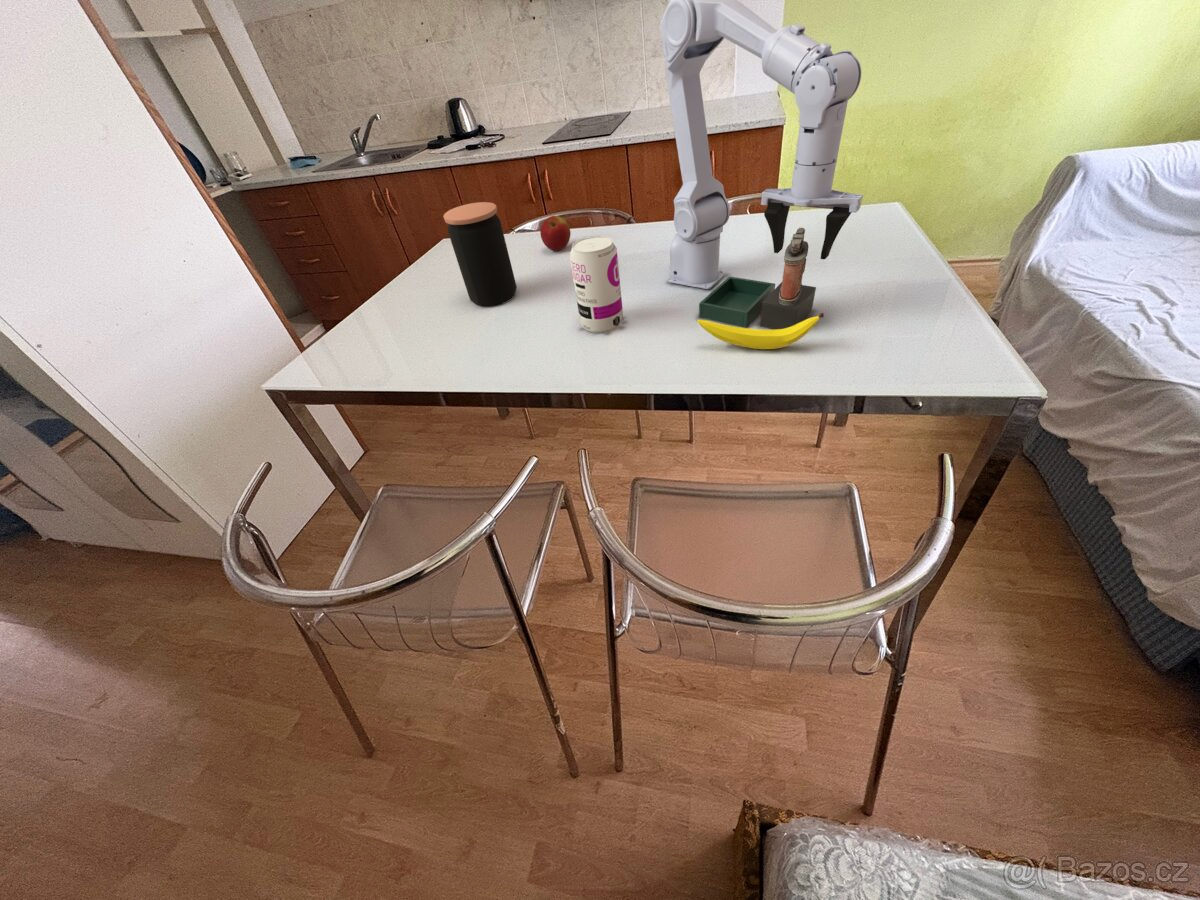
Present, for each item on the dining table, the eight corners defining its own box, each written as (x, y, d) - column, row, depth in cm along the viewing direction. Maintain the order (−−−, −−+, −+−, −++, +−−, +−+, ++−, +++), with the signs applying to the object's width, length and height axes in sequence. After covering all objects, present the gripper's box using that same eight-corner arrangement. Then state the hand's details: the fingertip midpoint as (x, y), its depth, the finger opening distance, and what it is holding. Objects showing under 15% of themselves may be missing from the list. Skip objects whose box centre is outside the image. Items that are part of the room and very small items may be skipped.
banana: (697, 341, 83) (697, 307, 79) (816, 345, 78) (823, 308, 74) (695, 350, 81) (695, 316, 77) (817, 354, 76) (824, 318, 72)
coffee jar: (526, 288, 108) (506, 202, 96) (501, 310, 102) (475, 220, 90) (488, 284, 112) (464, 201, 100) (460, 305, 106) (431, 219, 94)
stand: (759, 326, 84) (762, 302, 81) (778, 305, 89) (781, 281, 86) (794, 333, 81) (798, 308, 78) (811, 311, 86) (816, 287, 83)
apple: (537, 254, 123) (530, 221, 118) (555, 242, 128) (549, 210, 122) (561, 257, 120) (555, 223, 114) (579, 245, 124) (574, 212, 119)
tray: (698, 317, 89) (699, 303, 87) (728, 290, 96) (729, 276, 94) (746, 327, 85) (747, 312, 83) (773, 298, 91) (775, 283, 89)
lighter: (797, 306, 79) (807, 243, 72) (775, 304, 80) (783, 243, 74) (803, 284, 84) (814, 224, 77) (783, 283, 85) (791, 224, 79)
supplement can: (628, 314, 93) (622, 234, 83) (616, 336, 88) (607, 253, 78) (589, 312, 96) (578, 234, 86) (575, 333, 90) (561, 253, 80)
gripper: (756, 166, 72) (748, 257, 81) (860, 170, 65) (838, 269, 74) (775, 153, 76) (765, 242, 85) (875, 156, 69) (853, 252, 78)
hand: (800, 253), depth 80 cm, fingers open, 7 cm apart
